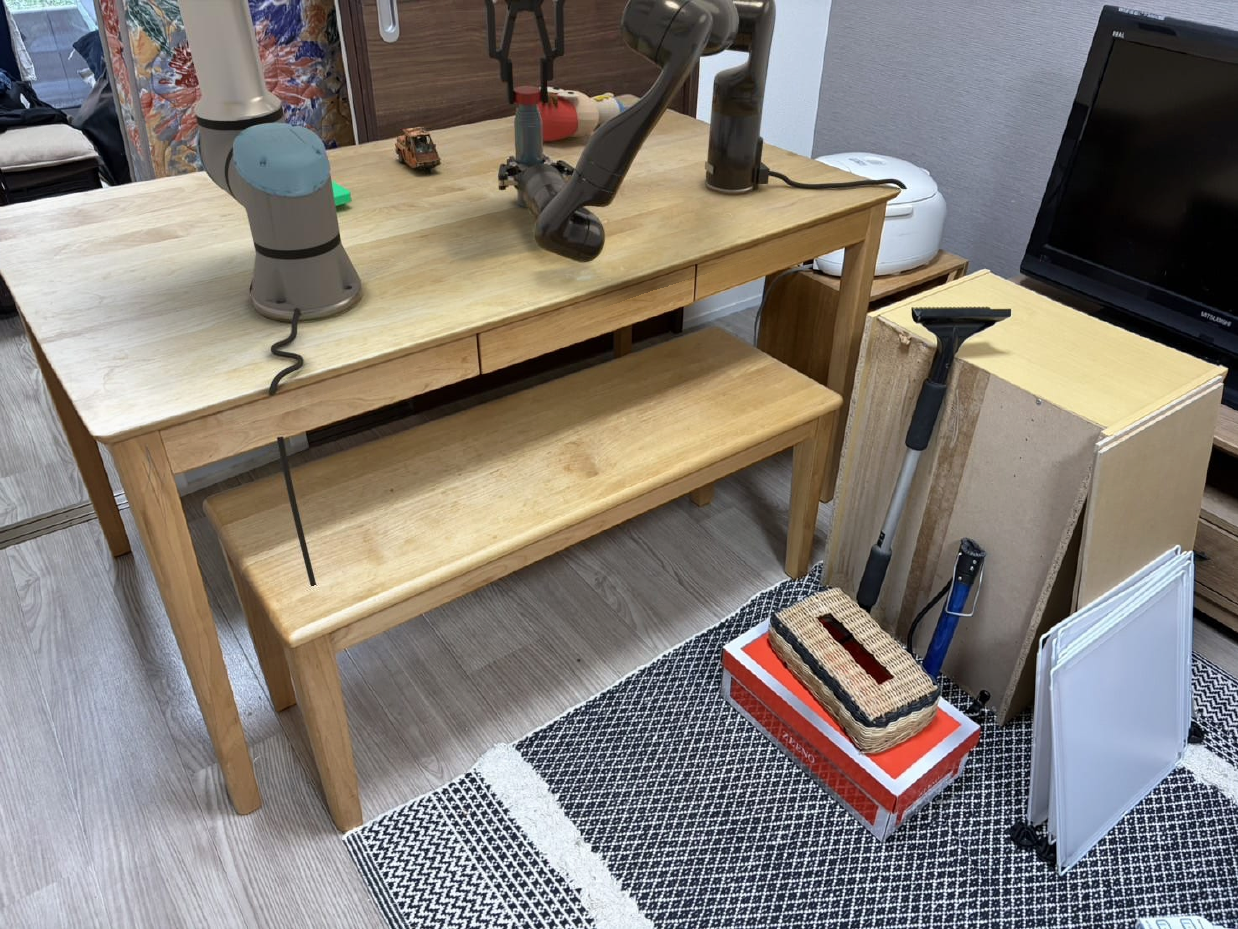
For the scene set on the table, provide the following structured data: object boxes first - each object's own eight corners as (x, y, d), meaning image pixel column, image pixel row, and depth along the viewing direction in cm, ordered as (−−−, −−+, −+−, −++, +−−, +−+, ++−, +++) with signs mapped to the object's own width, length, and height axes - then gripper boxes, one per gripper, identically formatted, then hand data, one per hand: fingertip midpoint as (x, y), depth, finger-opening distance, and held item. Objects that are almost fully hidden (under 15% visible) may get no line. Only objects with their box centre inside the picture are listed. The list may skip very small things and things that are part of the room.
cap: (532, 106, 154) (532, 95, 153) (508, 102, 155) (507, 90, 154) (546, 99, 157) (546, 88, 156) (522, 95, 159) (522, 84, 158)
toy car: (418, 153, 186) (414, 118, 181) (449, 170, 178) (446, 134, 174) (389, 159, 182) (385, 123, 178) (419, 177, 175) (416, 140, 171)
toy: (674, 93, 197) (551, 94, 182) (670, 142, 202) (549, 147, 187) (627, 81, 210) (509, 80, 195) (624, 127, 215) (508, 131, 200)
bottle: (548, 205, 166) (545, 96, 155) (522, 208, 164) (518, 99, 153) (538, 196, 169) (535, 88, 158) (513, 199, 168) (508, 91, 156)
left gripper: (575, -60, 147) (576, 93, 161) (461, -59, 144) (471, 96, 157) (584, -52, 141) (584, 105, 155) (465, -52, 138) (476, 109, 152)
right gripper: (589, 169, 151) (565, 136, 164) (502, 175, 148) (485, 141, 161) (589, 213, 156) (565, 178, 169) (504, 220, 152) (487, 184, 165)
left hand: (527, 100), depth 156 cm, fingers open, 5 cm apart
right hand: (526, 160), depth 165 cm, fingers closed on bottle, 5 cm apart
